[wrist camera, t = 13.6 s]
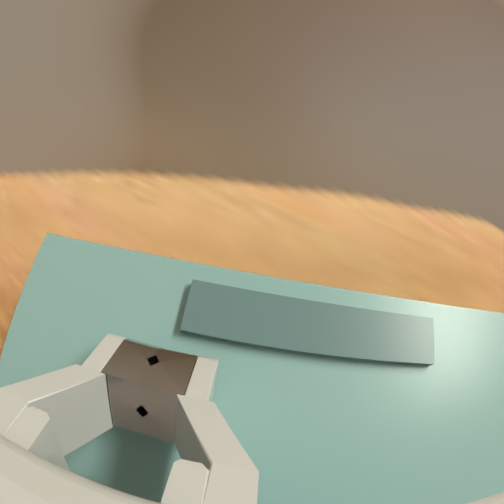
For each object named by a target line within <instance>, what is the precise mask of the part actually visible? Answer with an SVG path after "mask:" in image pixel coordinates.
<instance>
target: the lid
mask: <svg viewBox="0 0 504 504" xmlns="http://www.w3.org/2000/svg"><path fill="white" fill-rule="evenodd" d="M110 333H112V334H115V335H118V336H122V337H125V338H129V339H133V340H136V341H140V342H143V343H147V344H150V345H154V346H158V347H162V348H164V349H169V350H173V351H177V352H182V353H186V354H191V355H196V356H205V357H211V358H216V359H218V360H219V363H218V370H217V377H216V383H215V390H214V396H213V402H214V403H215V404H216V406H217V408H218V409H219V411H220V412H221V414H222V416H223V417H224V419H225V421H226V422H227V424H228V425H229V427H230V429H231V430H232V432H233V433H234V435H235V436H236V438H237V439H238V441H239V442H240V444H241V446H242V447H243V449H244V450H245V452H246V453H247V455H248V456H249V458H250V459H251V460H252V462H253V463H254V465H255V466H256V468H257V469H258V471H259V481H258V496H257V504H464V503H468V502H471V501H475V500H478V499H481V498H484V497H488V496H491V495H494V494H496V493H499V492H502V491H504V313H498V312H491V311H484V310H477V309H470V308H463V307H456V306H449V305H442V304H436V303H429V302H422V301H416V300H409V299H403V298H397V297H390V296H384V295H378V294H371V293H365V292H359V291H353V290H347V289H341V288H335V287H329V286H323V285H317V284H311V283H305V282H299V281H294V280H288V279H282V278H276V277H271V276H265V275H259V274H254V273H248V272H243V271H237V270H232V269H226V268H221V267H215V266H210V265H205V264H199V263H194V262H189V261H183V260H178V259H173V258H168V257H163V256H157V255H152V254H147V253H142V252H137V251H132V250H127V249H122V248H117V247H112V246H107V245H102V244H97V243H92V242H87V241H83V240H78V239H73V238H68V237H63V236H59V235H54V234H49V233H47V235H46V237H45V239H44V241H43V243H42V245H41V247H40V250H39V252H38V254H37V256H36V259H35V261H34V263H33V266H32V268H31V270H30V273H29V275H28V278H27V280H26V283H25V285H24V288H23V290H22V293H21V296H20V298H19V301H18V304H17V307H16V309H15V312H14V315H13V318H12V321H11V324H10V327H9V330H8V334H7V337H6V340H5V343H4V347H3V350H2V354H1V358H0V388H1V387H4V386H8V385H11V384H14V383H18V382H21V381H24V380H28V379H31V378H34V377H37V376H40V375H44V374H47V373H50V372H53V371H56V370H59V369H63V368H66V367H69V366H72V365H75V364H77V365H80V366H81V365H82V364H83V363H84V361H85V360H86V359H87V358H88V356H89V355H90V354H91V353H92V352H93V350H94V349H95V348H96V347H97V346H98V344H99V343H100V342H101V341H102V340H103V338H104V337H105V336H106V335H107V334H110ZM64 458H65V460H66V462H67V465H68V467H69V469H70V471H71V472H73V473H75V474H77V475H80V476H82V477H85V478H87V479H89V480H92V481H95V482H97V483H100V484H102V485H105V486H108V487H111V488H113V489H116V490H119V491H122V492H125V493H128V494H131V495H134V496H138V497H141V498H144V499H148V500H151V501H155V502H158V503H161V500H162V497H163V494H164V491H165V487H166V484H167V481H168V478H169V475H170V472H171V469H172V466H173V463H174V462H175V461H178V460H180V459H181V458H180V456H179V453H178V450H177V448H176V445H175V443H172V442H168V441H165V440H161V439H158V438H154V437H151V436H148V435H144V434H141V433H137V432H134V431H130V430H127V429H123V428H120V427H116V426H113V427H112V428H111V429H109V430H107V431H106V432H104V433H102V434H101V435H99V436H97V437H96V438H94V439H92V440H91V441H89V442H87V443H86V444H84V445H82V446H81V447H79V448H77V449H75V450H74V451H72V452H70V453H69V454H67V455H65V456H64Z"/></svg>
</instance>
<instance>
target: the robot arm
mask: <svg viewBox="0 0 504 504" xmlns="http://www.w3.org/2000/svg"><path fill="white" fill-rule="evenodd" d="M218 363H219V360H218V359H216V358H211V357H205V356H196V355H191V354H186V353H182V352H177V351H173V350H169V349H164V348H162V347H158V346H154V345H150V344H147V343H143V342H140V341H136V340H133V339H129V338H125V337H122V336H118V335H115V334H112V333H110V334H107V335H106V336H105V337H104V338H103V340H102V341H101V342H100V343H99V344H98V346H97V347H96V348H95V349H94V350H93V352H92V353H91V354H90V355H89V356H88V358H87V359H86V360H85V361H84V363H83V364H82V365H81V366H80V365H77V364H75V365H72V366H69V367H66V368H63V369H59V370H56V371H53V372H50V373H47V374H44V375H40V376H37V377H34V378H31V379H28V380H24V381H21V382H18V383H14V384H11V385H8V386H4V387H1V388H0V504H257V496H258V481H259V471H258V469H257V468H256V466H255V465H254V463H253V462H252V460H251V459H250V458H249V456H248V455H247V453H246V452H245V450H244V449H243V447H242V446H241V444H240V442H239V441H238V439H237V438H236V436H235V435H234V433H233V432H232V430H231V429H230V427H229V425H228V424H227V422H226V421H225V419H224V417H223V416H222V414H221V412H220V411H219V409H218V408H217V406H216V404H215V403H214V402H213V396H214V390H215V383H216V377H217V370H218ZM113 426H116V427H120V428H123V429H127V430H130V431H134V432H137V433H141V434H144V435H148V436H151V437H154V438H158V439H161V440H165V441H168V442H172V443H175V445H176V448H177V450H178V453H179V456H180V458H181V459H180V460H178V461H175V462H174V463H173V466H172V469H171V472H170V475H169V478H168V481H167V484H166V487H165V491H164V494H163V497H162V500H161V503H158V502H155V501H151V500H148V499H144V498H141V497H138V496H134V495H131V494H128V493H125V492H122V491H119V490H116V489H113V488H111V487H108V486H105V485H102V484H100V483H97V482H95V481H92V480H89V479H87V478H85V477H82V476H80V475H77V474H75V473H73V472H71V471H70V469H69V467H68V465H67V462H66V460H65V458H64V456H65V455H67V454H69V453H70V452H72V451H74V450H75V449H77V448H79V447H81V446H82V445H84V444H86V443H87V442H89V441H91V440H92V439H94V438H96V437H97V436H99V435H101V434H102V433H104V432H106V431H107V430H109V429H111V428H112V427H113ZM464 504H504V491H502V492H499V493H496V494H494V495H491V496H488V497H484V498H481V499H478V500H475V501H471V502H468V503H464Z"/></svg>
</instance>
